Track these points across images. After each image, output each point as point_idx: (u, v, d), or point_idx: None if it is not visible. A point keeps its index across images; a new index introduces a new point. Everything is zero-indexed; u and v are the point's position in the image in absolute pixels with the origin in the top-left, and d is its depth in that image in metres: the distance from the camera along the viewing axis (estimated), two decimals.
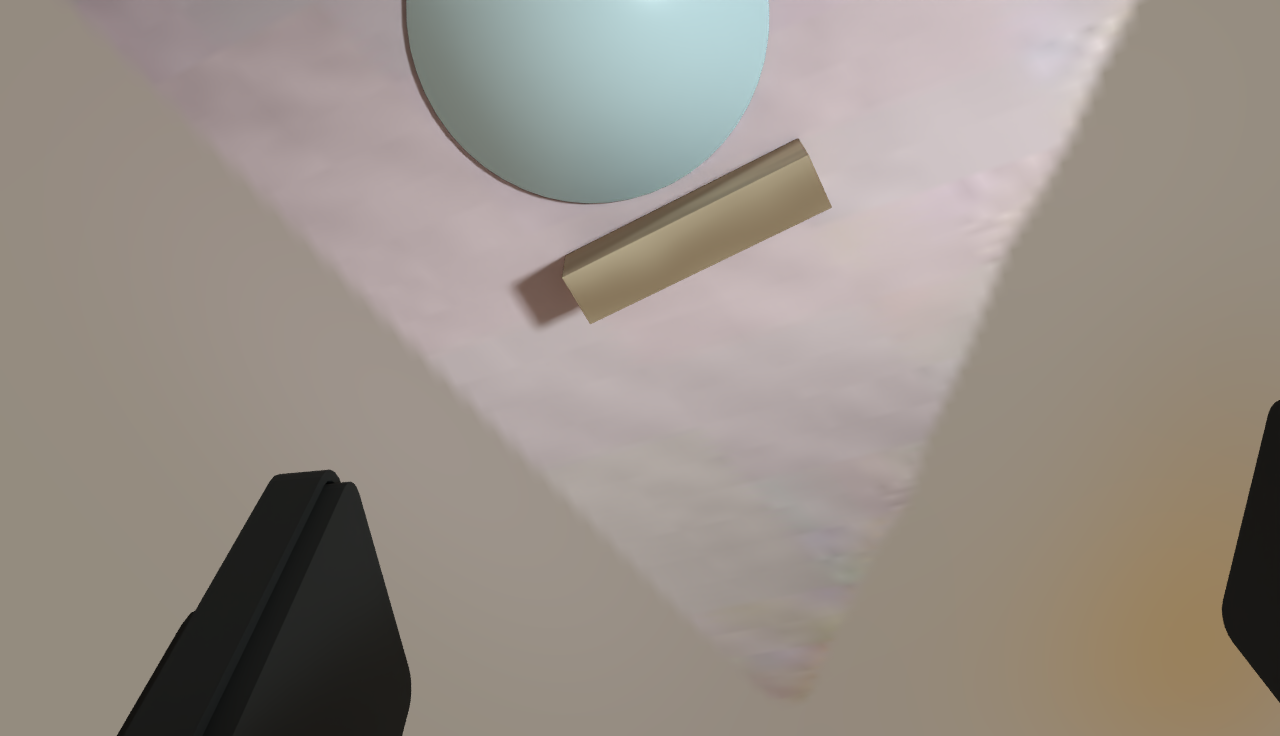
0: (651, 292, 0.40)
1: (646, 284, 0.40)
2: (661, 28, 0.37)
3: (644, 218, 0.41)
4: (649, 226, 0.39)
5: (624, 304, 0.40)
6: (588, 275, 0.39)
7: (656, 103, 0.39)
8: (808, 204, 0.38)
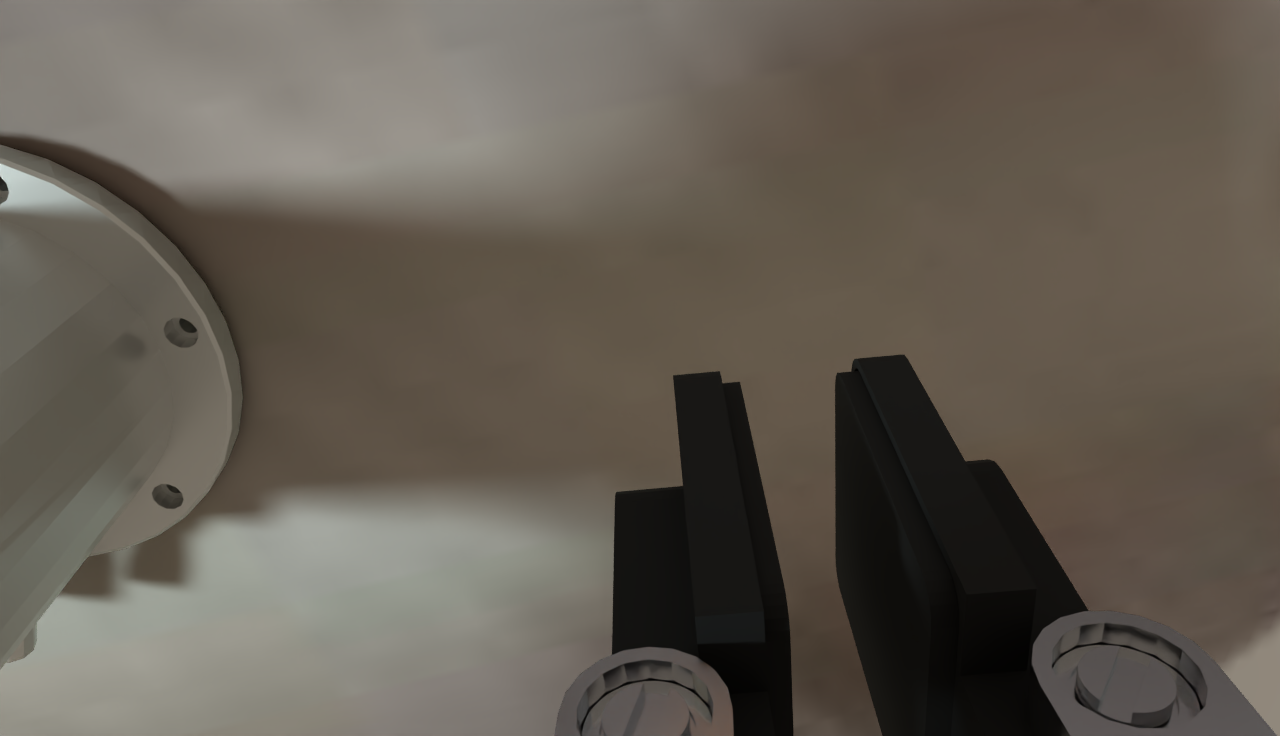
0: None
1: None
2: None
3: None
4: None
5: None
6: None
7: None
8: None
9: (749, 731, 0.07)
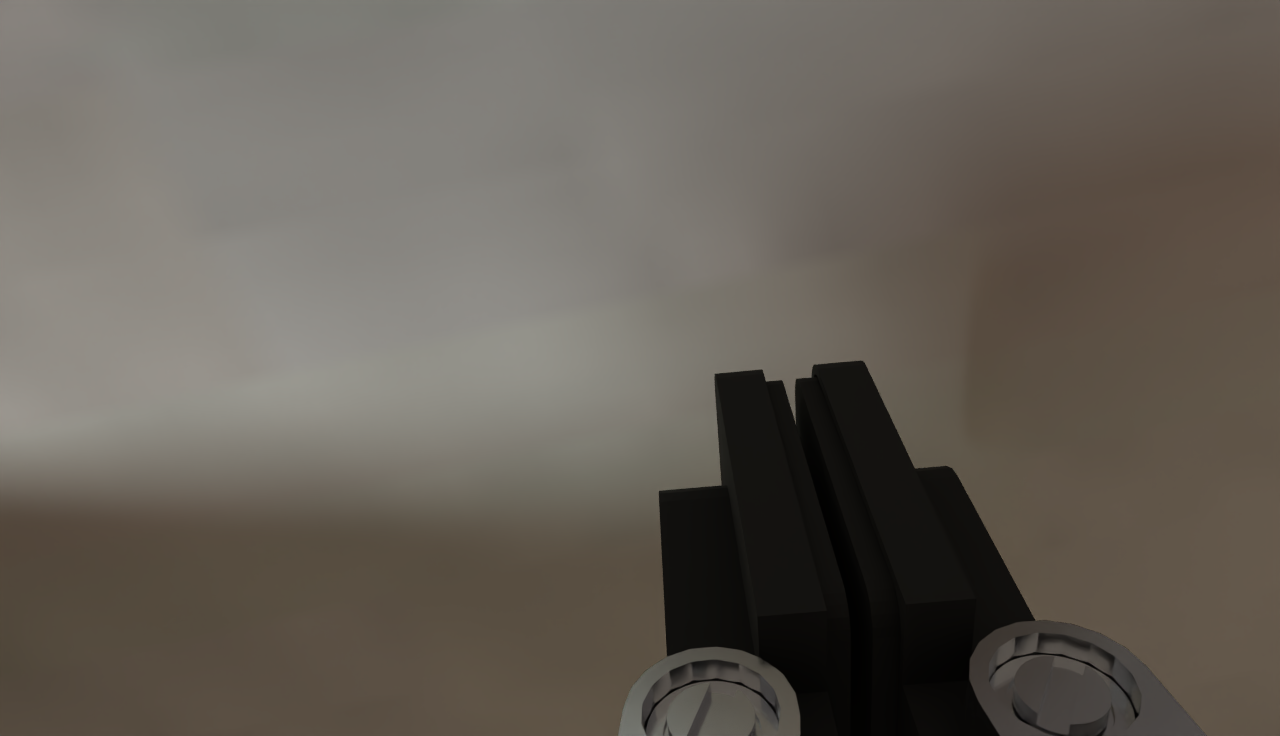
0: None
1: None
2: None
3: None
4: None
5: None
6: None
7: None
8: None
9: (812, 732, 0.07)
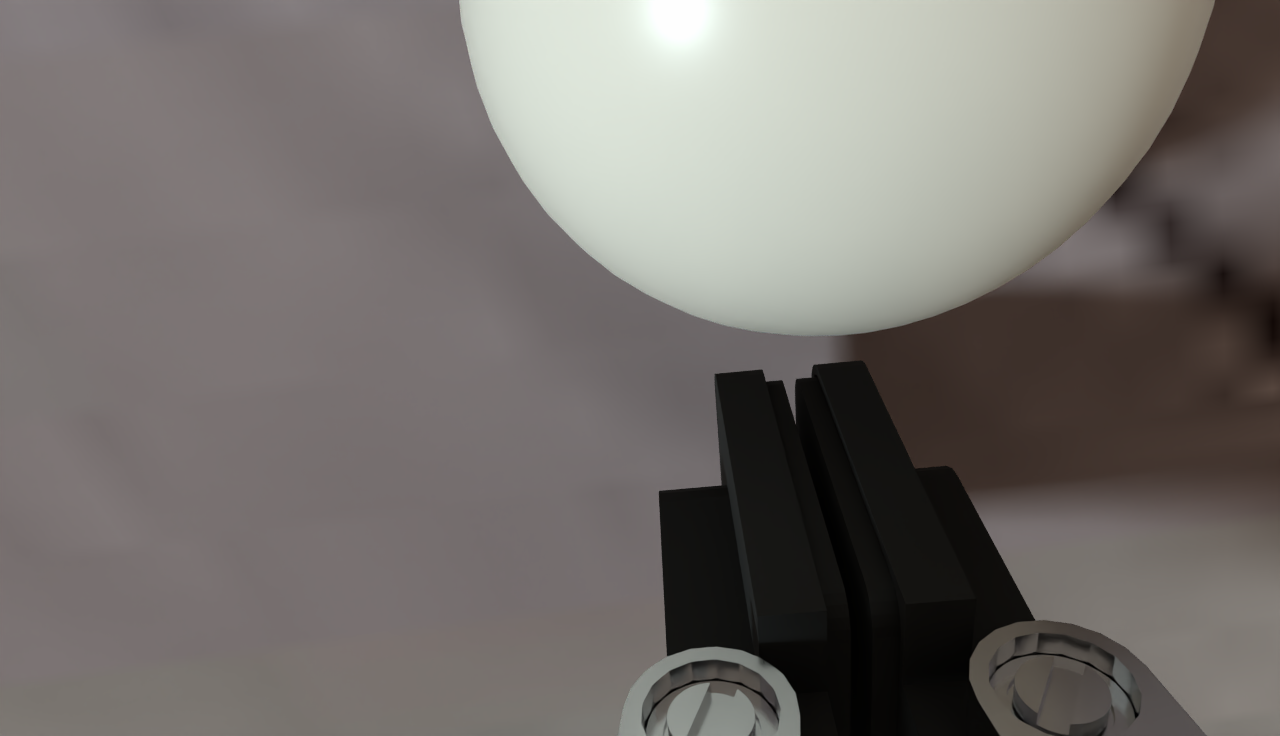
0: None
1: None
2: None
3: None
4: None
5: None
6: None
7: None
8: None
9: (811, 731, 0.07)
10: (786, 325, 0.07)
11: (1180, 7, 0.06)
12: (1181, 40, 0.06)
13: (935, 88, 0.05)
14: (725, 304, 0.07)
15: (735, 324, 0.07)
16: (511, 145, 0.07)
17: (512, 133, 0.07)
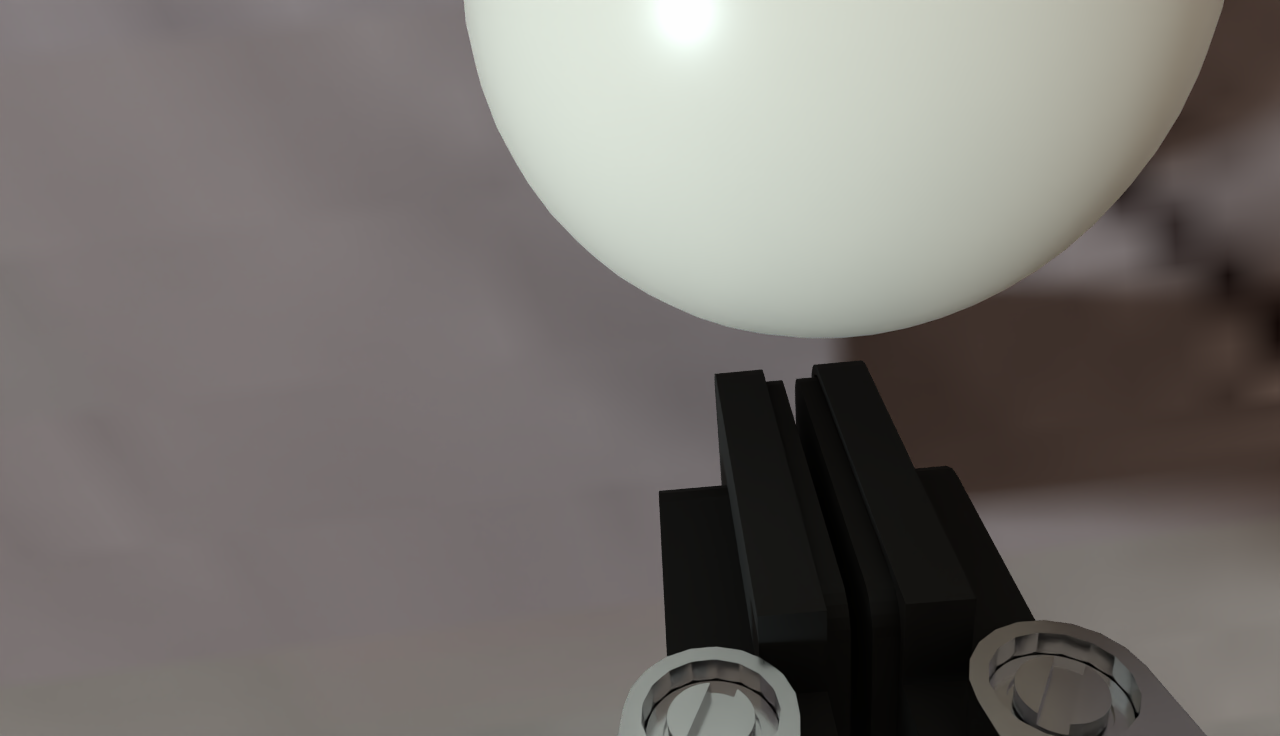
0: None
1: None
2: None
3: None
4: None
5: None
6: None
7: None
8: None
9: (812, 731, 0.07)
10: (792, 328, 0.07)
11: (1190, 9, 0.06)
12: (1191, 42, 0.06)
13: (945, 90, 0.05)
14: (731, 306, 0.07)
15: (740, 326, 0.07)
16: (516, 146, 0.07)
17: (517, 134, 0.07)
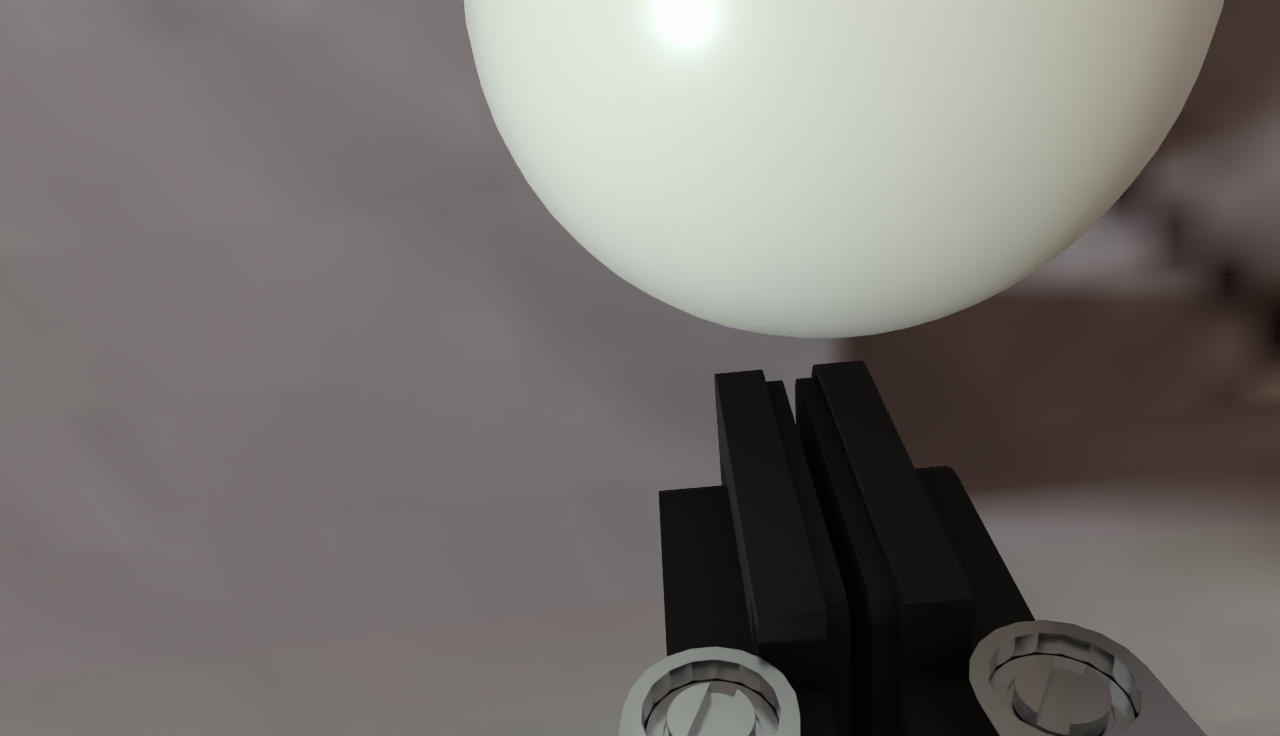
0: None
1: None
2: None
3: None
4: None
5: None
6: None
7: None
8: None
9: (812, 731, 0.07)
10: (792, 328, 0.07)
11: (1190, 9, 0.06)
12: (1191, 42, 0.06)
13: (945, 90, 0.05)
14: (731, 306, 0.07)
15: (740, 326, 0.07)
16: (516, 146, 0.07)
17: (517, 134, 0.07)
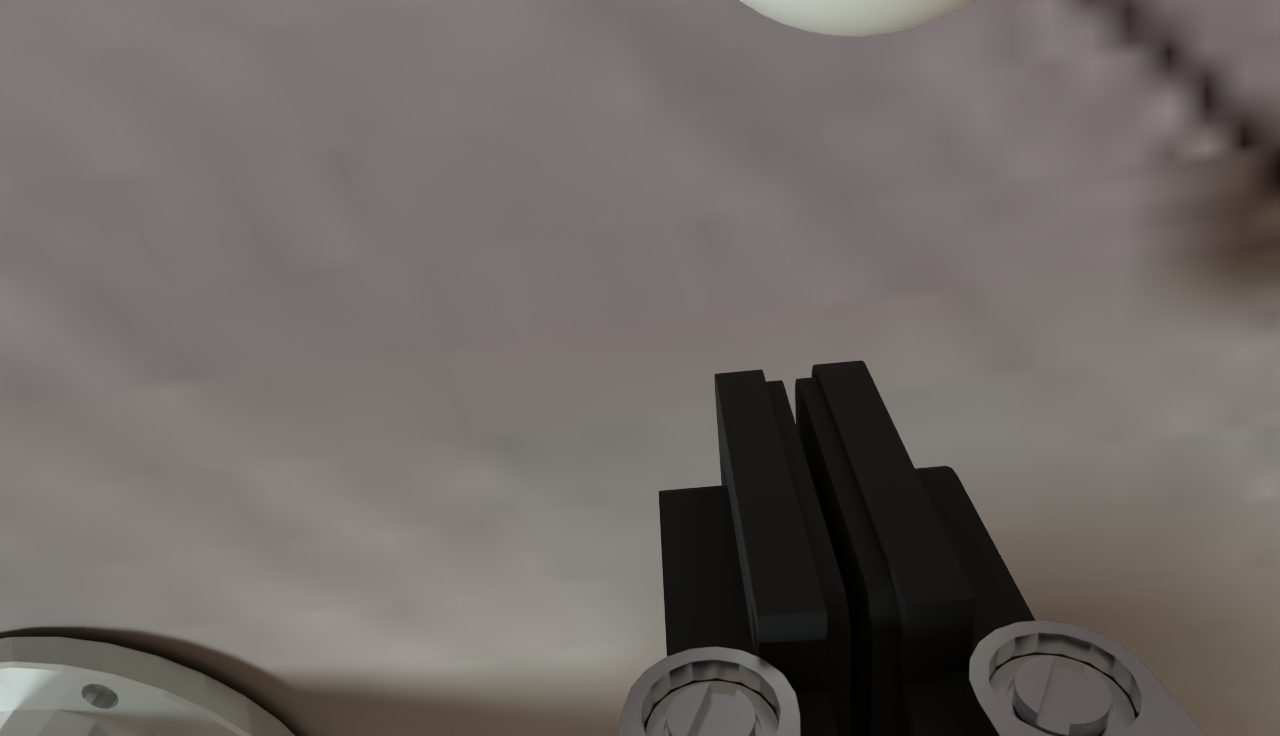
0: None
1: None
2: None
3: None
4: None
5: None
6: None
7: None
8: None
9: (812, 731, 0.07)
10: (843, 10, 0.11)
11: None
12: None
13: None
14: None
15: (811, 15, 0.12)
16: None
17: None
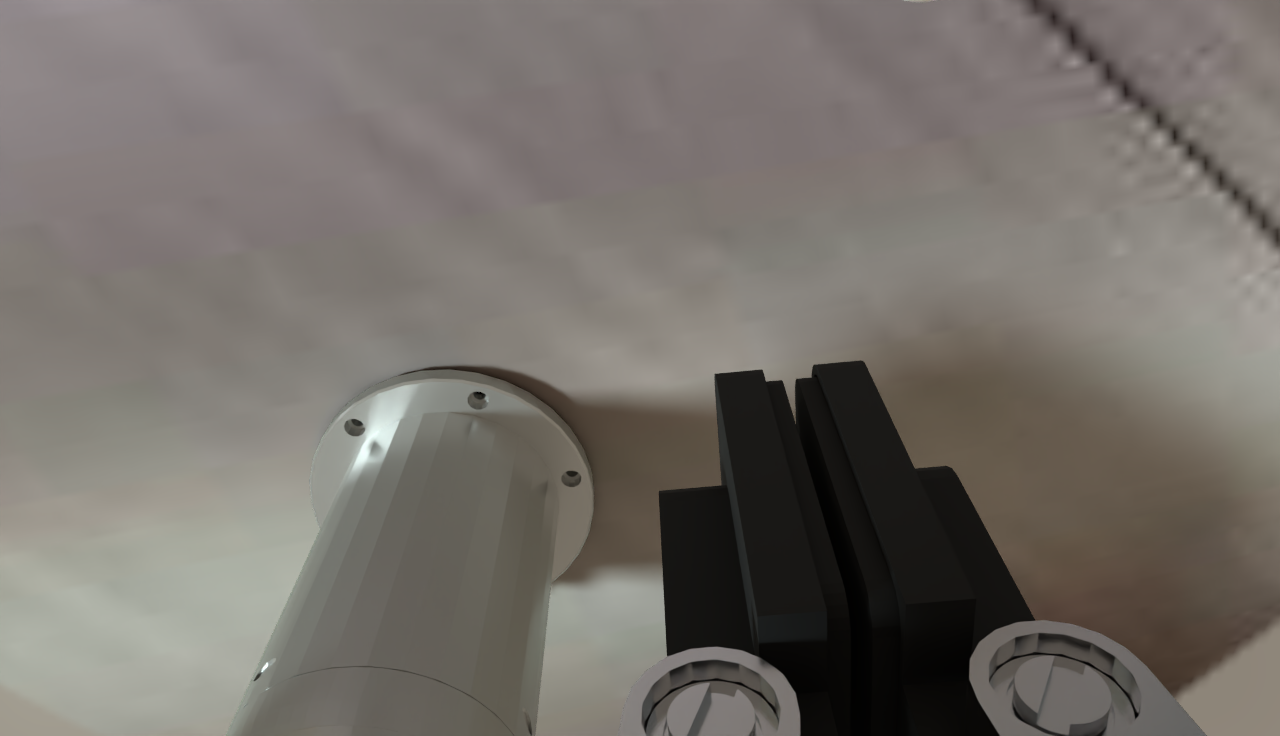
0: None
1: None
2: None
3: None
4: None
5: None
6: None
7: None
8: None
9: (811, 731, 0.07)
10: None
11: None
12: None
13: None
14: None
15: None
16: None
17: None
